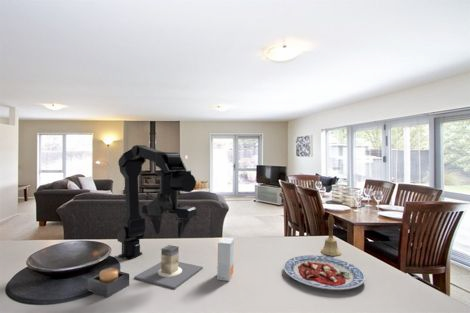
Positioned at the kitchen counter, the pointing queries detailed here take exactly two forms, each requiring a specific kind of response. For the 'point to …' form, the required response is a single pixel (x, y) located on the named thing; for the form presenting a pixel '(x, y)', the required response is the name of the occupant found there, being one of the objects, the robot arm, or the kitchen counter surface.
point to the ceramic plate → (324, 272)
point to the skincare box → (225, 259)
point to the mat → (169, 280)
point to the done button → (108, 275)
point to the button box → (108, 285)
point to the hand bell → (330, 240)
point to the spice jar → (169, 259)
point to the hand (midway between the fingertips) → (168, 235)
